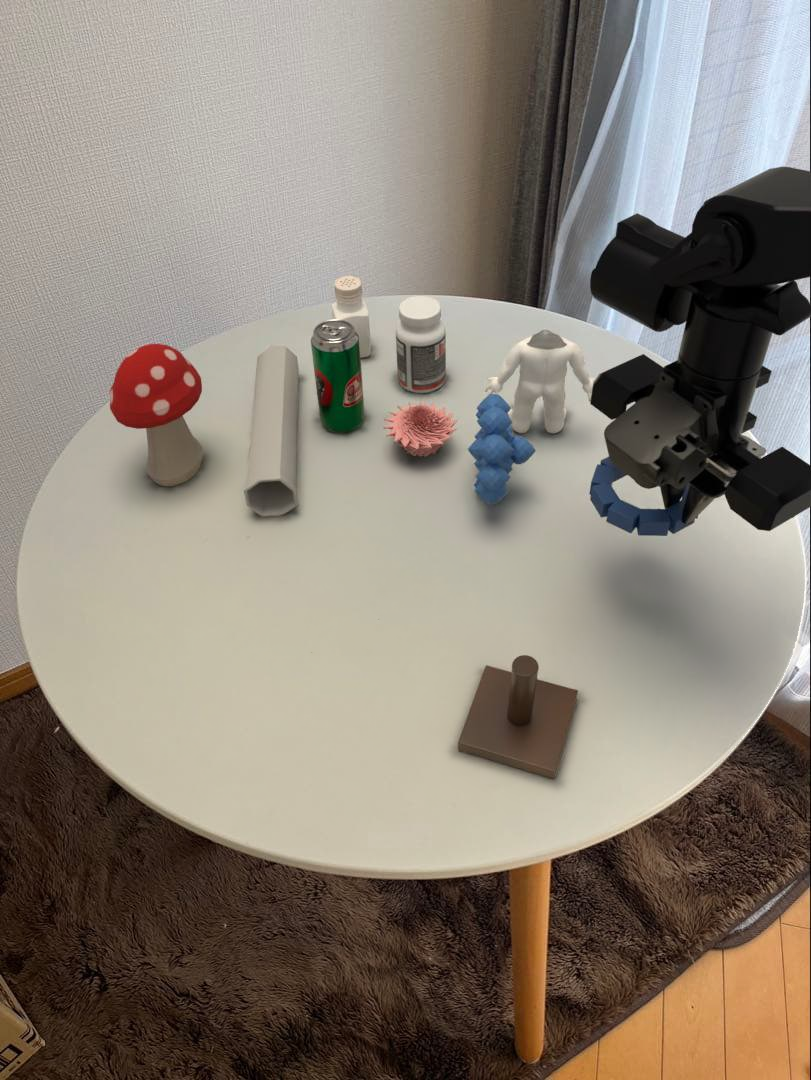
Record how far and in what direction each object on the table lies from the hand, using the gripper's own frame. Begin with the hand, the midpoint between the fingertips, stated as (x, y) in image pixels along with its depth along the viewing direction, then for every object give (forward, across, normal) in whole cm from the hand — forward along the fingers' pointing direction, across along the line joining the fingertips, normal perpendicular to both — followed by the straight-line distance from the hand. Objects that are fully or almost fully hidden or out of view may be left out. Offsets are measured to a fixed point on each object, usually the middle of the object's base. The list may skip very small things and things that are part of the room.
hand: (678, 514), depth 74 cm
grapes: (+11, -20, -3) cm, 23 cm away
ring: (+1, -4, 0) cm, 4 cm away
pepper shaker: (+11, -50, -2) cm, 52 cm away
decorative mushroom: (+11, -43, -29) cm, 53 cm away
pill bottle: (+11, -40, +1) cm, 42 cm away
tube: (+11, -41, -18) cm, 46 cm away
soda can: (+11, -39, -10) cm, 42 cm away
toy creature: (+11, -26, +7) cm, 29 cm away
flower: (+11, -30, -6) cm, 33 cm away
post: (+11, +3, -18) cm, 22 cm away
